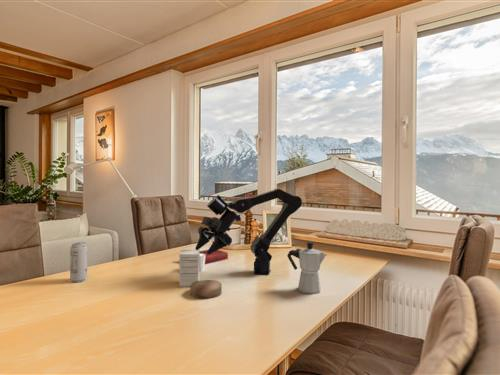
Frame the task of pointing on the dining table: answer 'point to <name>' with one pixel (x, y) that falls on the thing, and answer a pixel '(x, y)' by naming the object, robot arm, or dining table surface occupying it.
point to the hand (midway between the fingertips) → (201, 251)
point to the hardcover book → (215, 256)
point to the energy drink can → (78, 262)
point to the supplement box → (188, 267)
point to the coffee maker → (308, 268)
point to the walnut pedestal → (206, 289)
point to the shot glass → (201, 262)
